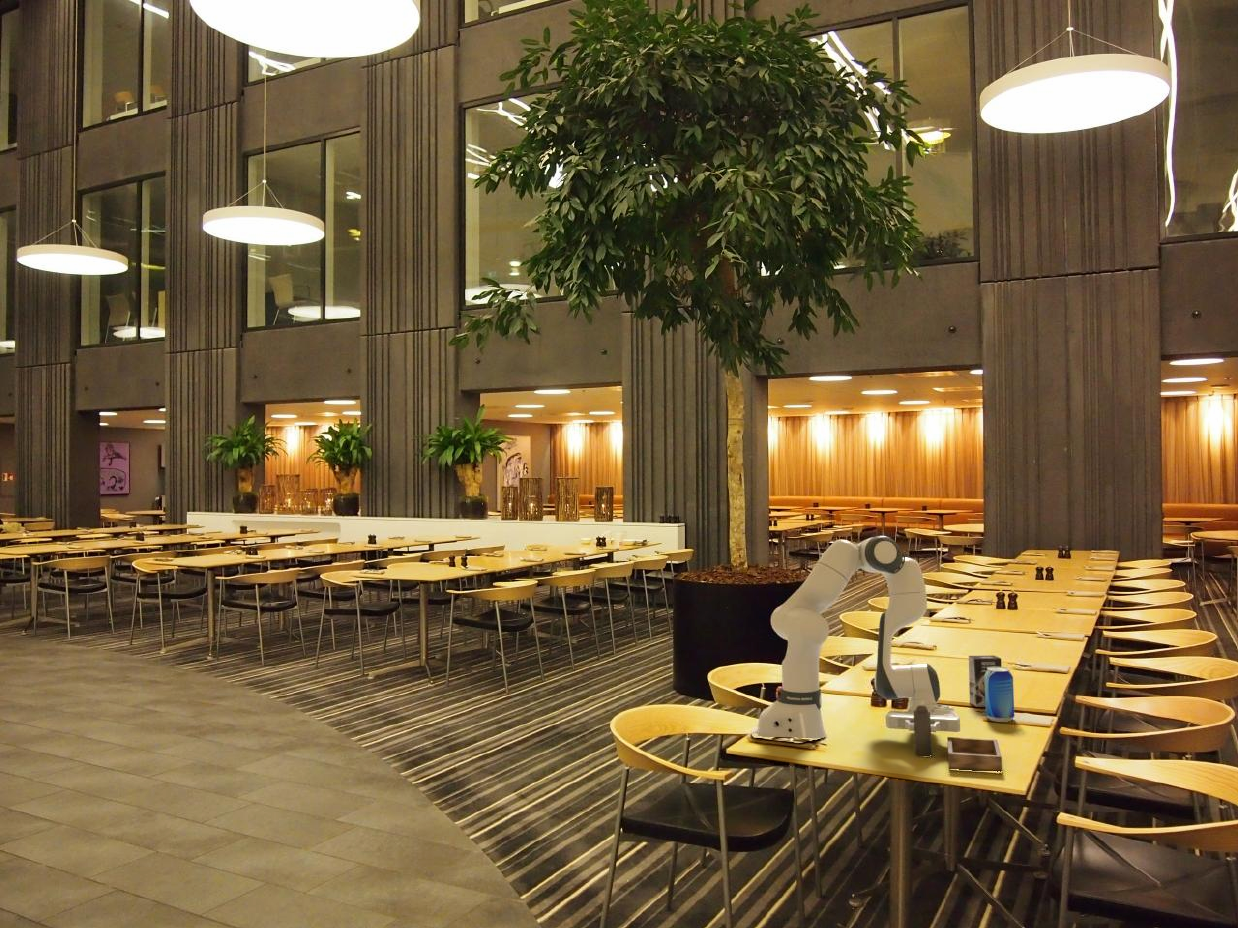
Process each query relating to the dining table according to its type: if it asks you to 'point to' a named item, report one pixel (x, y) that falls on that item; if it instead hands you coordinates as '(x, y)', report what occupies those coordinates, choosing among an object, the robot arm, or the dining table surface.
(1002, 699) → the beer can
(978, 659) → the coffee box
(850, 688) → the dining table surface
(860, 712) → the dining table surface
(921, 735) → the pepper mill
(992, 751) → the box
